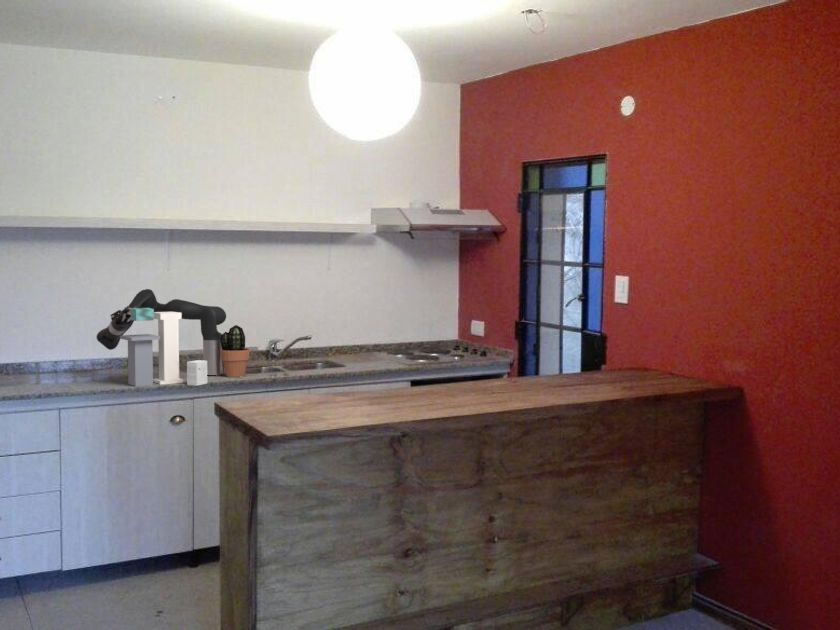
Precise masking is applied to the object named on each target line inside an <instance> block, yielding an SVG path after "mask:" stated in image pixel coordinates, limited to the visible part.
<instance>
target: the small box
mask: <svg viewBox="0 0 840 630" xmlns="http://www.w3.org/2000/svg"><path fill="white" fill-rule="evenodd" d="M186 380H187V381H186V383H187V386H193V387H194V386H195V387H197V386H201V385H206V384H208V376H207V361H204V360H203V359H202V360H200V359H196V360H190V361H187V362H186Z"/></svg>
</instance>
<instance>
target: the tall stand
mask: <svg viewBox="0 0 840 630" xmlns="http://www.w3.org/2000/svg"><path fill="white" fill-rule="evenodd" d="M154 320H157V329H158V332H157V336H160V339H157V340H158V344H157V345H158V377H157V378H155V377H154V378H153V382H155V383H154V384H156V383H158V384H157V385H170V384H180V383H182V384H183V383H184V379H183V378H180V346H179V345H180V341H179V340H180V338H179V337H180V336H179V335H180V334H179V333H180V329H179V328H180V327H179V325H180V324H179V320H183V319H182V313H180V312H154Z"/></svg>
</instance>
